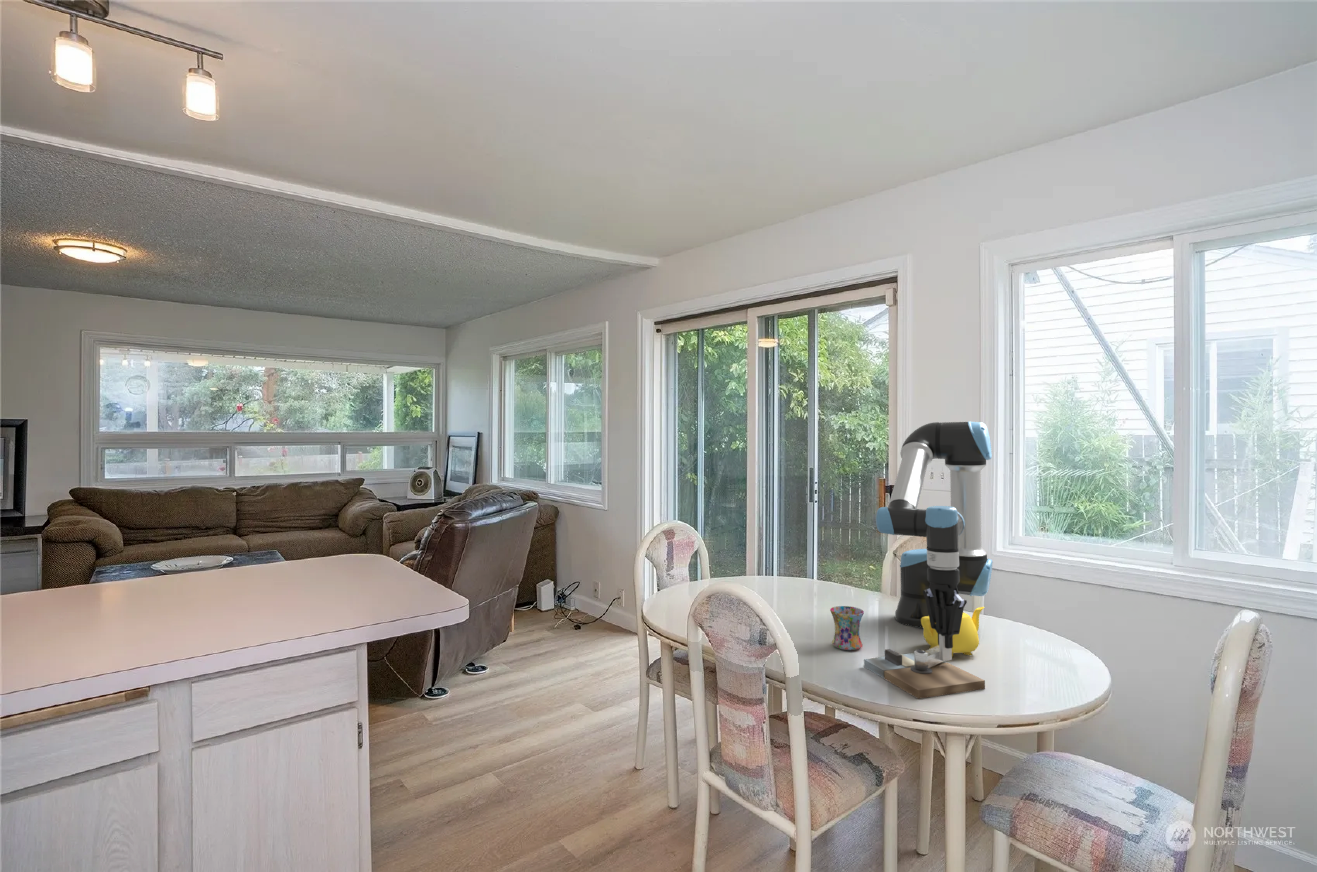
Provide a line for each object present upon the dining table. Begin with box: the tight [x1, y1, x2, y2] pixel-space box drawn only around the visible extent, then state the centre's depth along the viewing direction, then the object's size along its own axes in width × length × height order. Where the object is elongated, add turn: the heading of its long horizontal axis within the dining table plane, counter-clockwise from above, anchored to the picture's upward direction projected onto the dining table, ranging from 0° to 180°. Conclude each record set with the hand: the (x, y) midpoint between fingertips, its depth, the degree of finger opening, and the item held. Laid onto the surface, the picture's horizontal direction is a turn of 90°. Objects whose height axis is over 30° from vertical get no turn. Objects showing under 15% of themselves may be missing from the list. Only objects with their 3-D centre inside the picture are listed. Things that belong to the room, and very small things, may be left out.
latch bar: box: [913, 645, 943, 670], centre depth 161 cm, size 13×3×4 cm, turn 129°
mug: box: [829, 605, 865, 651], centre depth 183 cm, size 12×9×11 cm
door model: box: [863, 648, 986, 700], centre depth 159 cm, size 19×21×4 cm
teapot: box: [921, 606, 985, 658], centre depth 178 cm, size 13×20×12 cm
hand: (945, 659), depth 161 cm, fingers closed
